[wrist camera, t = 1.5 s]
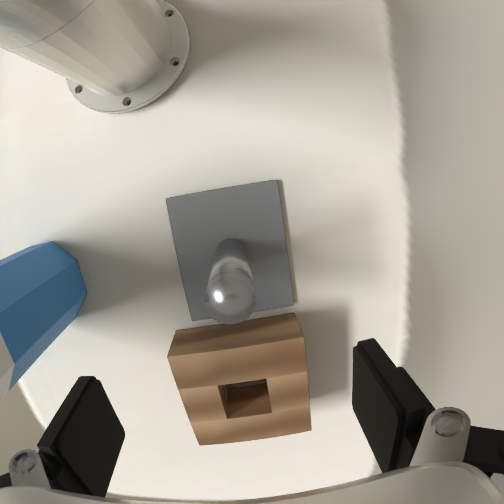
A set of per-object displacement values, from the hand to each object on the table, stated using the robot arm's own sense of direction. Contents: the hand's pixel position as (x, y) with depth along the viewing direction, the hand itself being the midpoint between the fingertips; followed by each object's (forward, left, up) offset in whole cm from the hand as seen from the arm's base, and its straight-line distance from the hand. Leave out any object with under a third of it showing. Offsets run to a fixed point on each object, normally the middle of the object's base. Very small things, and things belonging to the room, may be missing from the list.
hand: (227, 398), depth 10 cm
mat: (0, 0, -20) cm, 20 cm away
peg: (0, 0, -20) cm, 20 cm away
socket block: (+13, -1, -20) cm, 24 cm away
